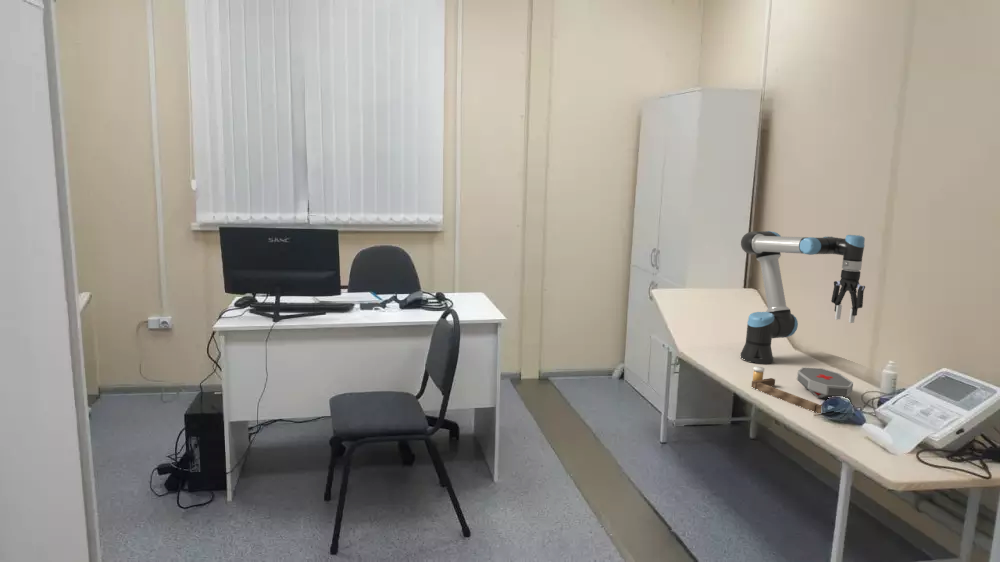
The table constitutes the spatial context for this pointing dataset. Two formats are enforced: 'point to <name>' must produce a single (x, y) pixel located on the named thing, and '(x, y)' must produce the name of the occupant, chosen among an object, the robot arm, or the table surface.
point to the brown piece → (784, 394)
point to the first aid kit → (824, 382)
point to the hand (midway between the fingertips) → (844, 320)
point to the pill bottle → (758, 373)
